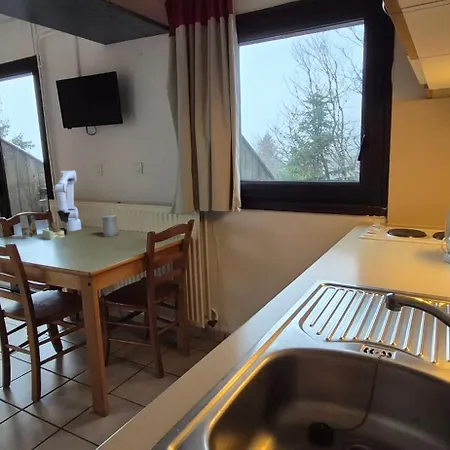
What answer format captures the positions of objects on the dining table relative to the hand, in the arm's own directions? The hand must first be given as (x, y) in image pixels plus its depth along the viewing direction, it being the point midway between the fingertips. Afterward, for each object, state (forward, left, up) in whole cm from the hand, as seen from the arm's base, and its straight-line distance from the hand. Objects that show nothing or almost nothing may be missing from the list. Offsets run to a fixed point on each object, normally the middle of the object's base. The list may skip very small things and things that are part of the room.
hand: (64, 221), depth 276 cm
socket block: (+7, 0, -9) cm, 12 cm away
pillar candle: (-21, +22, -11) cm, 32 cm away
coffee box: (+16, -21, -11) cm, 28 cm away
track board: (+3, 0, -10) cm, 11 cm away
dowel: (+7, 0, -8) cm, 11 cm away
